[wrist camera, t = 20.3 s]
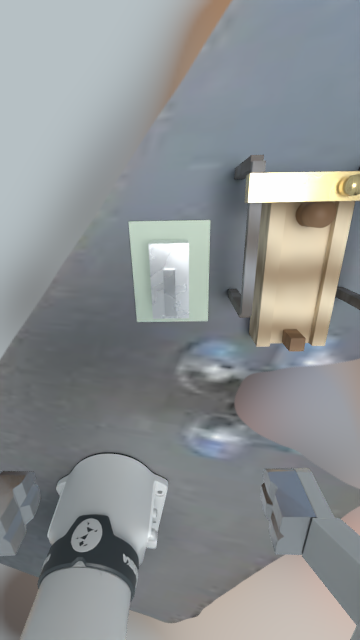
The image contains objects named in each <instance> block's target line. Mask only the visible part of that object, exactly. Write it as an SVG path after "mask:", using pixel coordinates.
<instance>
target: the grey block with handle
mask: <svg viewBox="0 0 360 640" xmlns="http://www.w3.org/2000/svg"><path fill="white" fill-rule="evenodd" d="M148 246H149V262H150V279H151V296H152V313H153V319H178V318H189V242H188V239H180V240H152V241H151V242H150V243H149V244H148Z"/></svg>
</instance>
